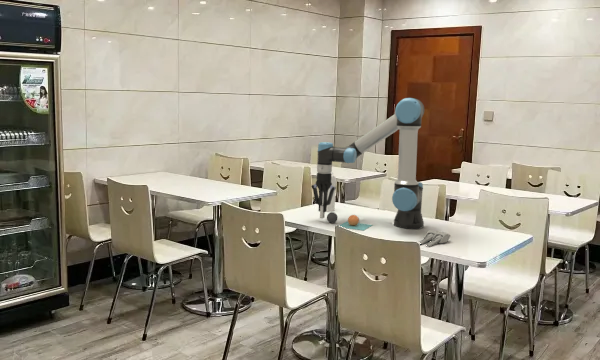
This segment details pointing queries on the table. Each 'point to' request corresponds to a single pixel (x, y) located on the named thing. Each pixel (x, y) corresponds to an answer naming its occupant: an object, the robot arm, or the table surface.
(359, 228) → the mark
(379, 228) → the table surface
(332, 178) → the milk
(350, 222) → the ball
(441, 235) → the grey glove
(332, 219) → the ball
